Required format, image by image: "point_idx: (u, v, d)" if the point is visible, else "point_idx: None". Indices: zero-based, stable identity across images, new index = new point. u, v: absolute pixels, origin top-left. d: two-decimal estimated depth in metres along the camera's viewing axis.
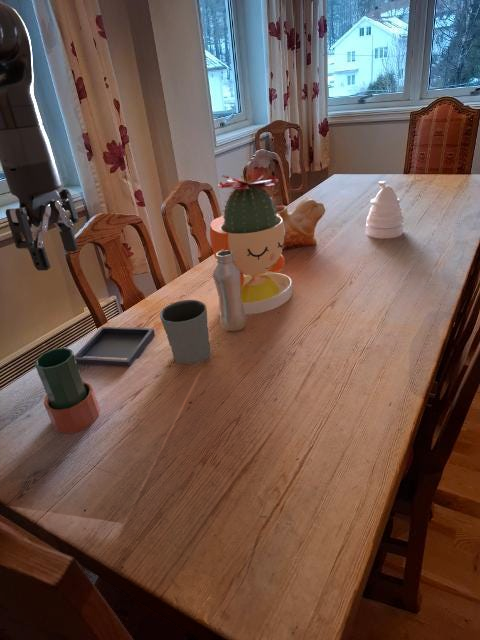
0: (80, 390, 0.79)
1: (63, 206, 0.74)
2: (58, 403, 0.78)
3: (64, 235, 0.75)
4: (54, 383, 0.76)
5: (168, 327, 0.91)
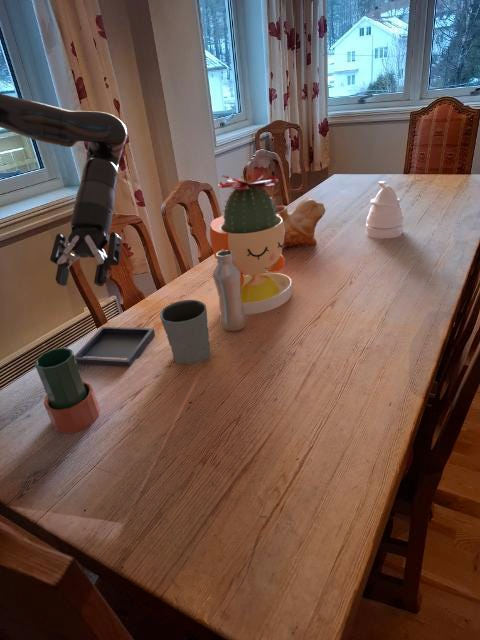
0: (80, 390, 0.79)
1: (61, 248, 0.87)
2: (58, 403, 0.78)
3: (64, 269, 0.85)
4: (54, 383, 0.76)
5: (168, 327, 0.91)
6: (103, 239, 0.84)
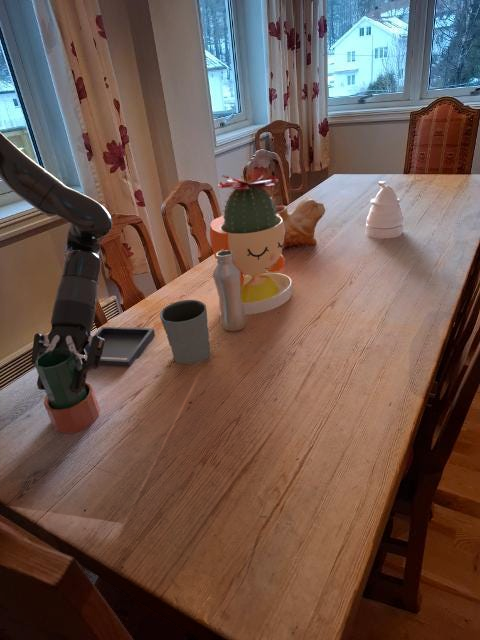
0: None
1: (42, 348, 0.82)
2: (58, 403, 0.78)
3: None
4: (54, 383, 0.76)
5: (168, 327, 0.91)
6: (85, 340, 0.79)
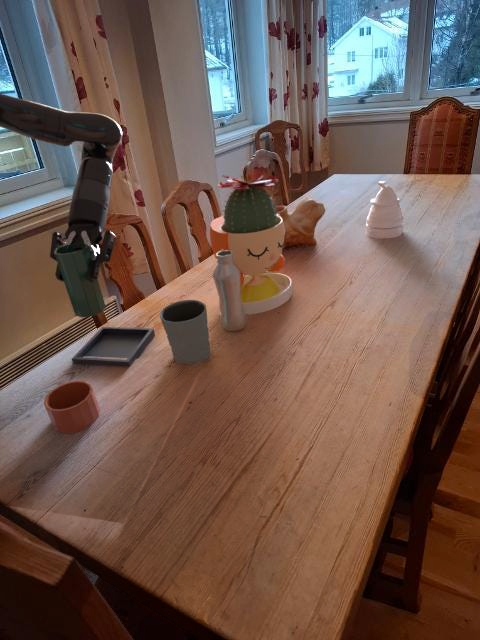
0: None
1: (59, 245, 0.90)
2: (75, 290, 0.86)
3: None
4: (71, 269, 0.84)
5: (168, 327, 0.91)
6: (98, 235, 0.88)
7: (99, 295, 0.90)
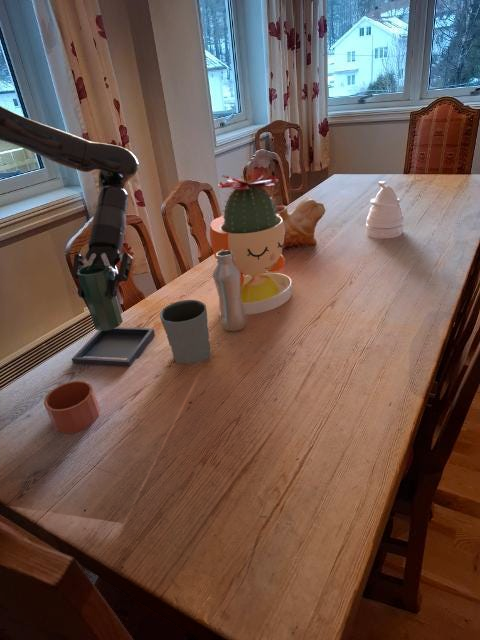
0: None
1: (80, 266, 0.99)
2: (96, 307, 0.96)
3: None
4: (93, 289, 0.93)
5: (168, 327, 0.91)
6: (117, 257, 0.97)
7: (117, 311, 0.99)
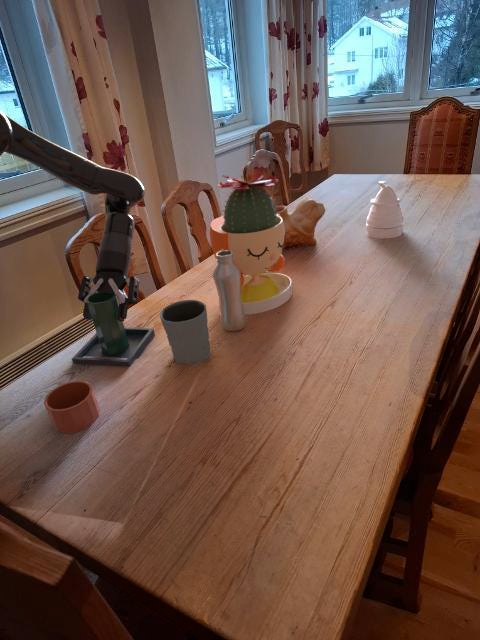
0: (120, 324, 1.01)
1: (87, 288, 1.03)
2: (104, 333, 0.99)
3: None
4: (101, 316, 0.97)
5: (168, 327, 0.91)
6: (123, 281, 1.00)
7: (124, 336, 1.03)
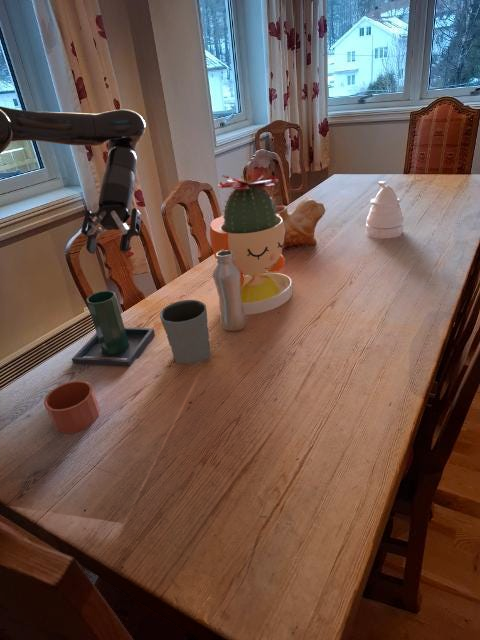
0: (120, 324, 1.01)
1: (90, 223, 1.03)
2: (104, 333, 0.99)
3: (93, 240, 1.02)
4: (101, 316, 0.97)
5: (168, 327, 0.91)
6: (126, 214, 1.00)
7: (124, 336, 1.03)
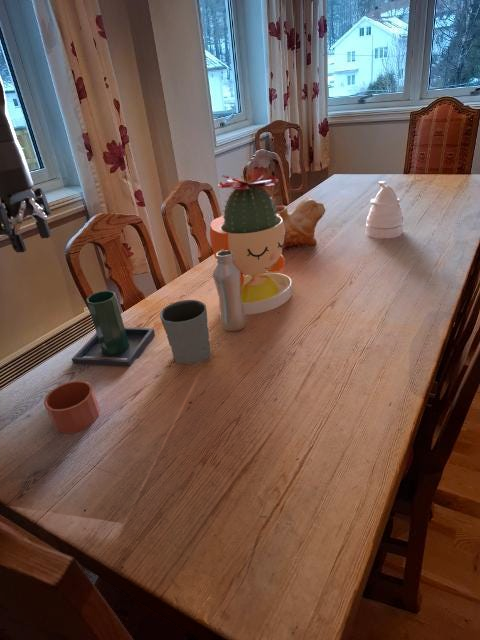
0: (120, 324, 1.01)
1: (38, 202, 0.93)
2: (104, 333, 0.99)
3: (39, 225, 0.94)
4: (101, 316, 0.97)
5: (168, 327, 0.91)
6: None
7: (124, 336, 1.03)
